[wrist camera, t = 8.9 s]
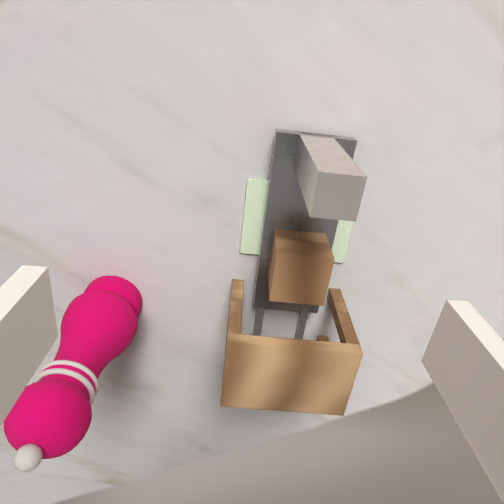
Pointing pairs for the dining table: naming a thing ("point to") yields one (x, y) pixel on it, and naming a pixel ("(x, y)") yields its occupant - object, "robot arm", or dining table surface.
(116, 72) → the dining table surface
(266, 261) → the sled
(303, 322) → the rails
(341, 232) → the pad
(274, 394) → the tunnel
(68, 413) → the pepper mill
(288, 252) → the block
